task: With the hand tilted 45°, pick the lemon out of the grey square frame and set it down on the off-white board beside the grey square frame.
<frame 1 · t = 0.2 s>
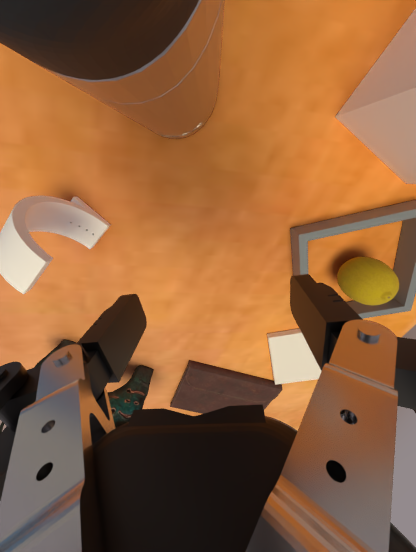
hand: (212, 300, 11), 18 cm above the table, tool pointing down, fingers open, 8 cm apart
grey square frame: (346, 266, 29), on the table
board: (306, 353, 38), on the table
lemon: (345, 265, 29), resting in grey square frame
headphone stand: (83, 220, 27), on the table
notebook: (223, 389, 45), on the table
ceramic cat: (111, 360, 40), on the table
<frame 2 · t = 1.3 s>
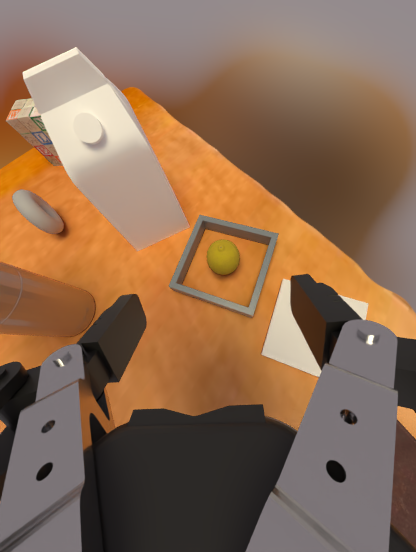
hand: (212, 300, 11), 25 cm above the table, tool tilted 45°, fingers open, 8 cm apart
stack of blocks: (92, 155, 54), on the table
grey square frame: (224, 266, 38), on the table
board: (312, 329, 33), on the table
lemon: (224, 266, 38), resting in grey square frame
notebook: (349, 481, 27), on the table
milk: (155, 218, 44), on the table
donut: (60, 226, 48), on the table
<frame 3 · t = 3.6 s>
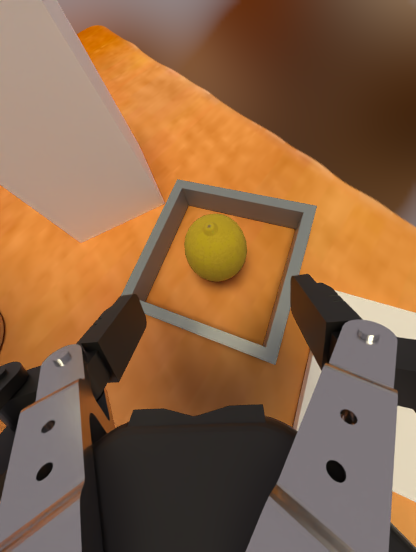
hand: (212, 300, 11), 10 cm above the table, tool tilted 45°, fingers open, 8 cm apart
grey square frame: (220, 265, 22), on the table
board: (392, 388, 17), on the table
lemon: (220, 266, 22), resting in grey square frame
milk: (113, 192, 28), on the table
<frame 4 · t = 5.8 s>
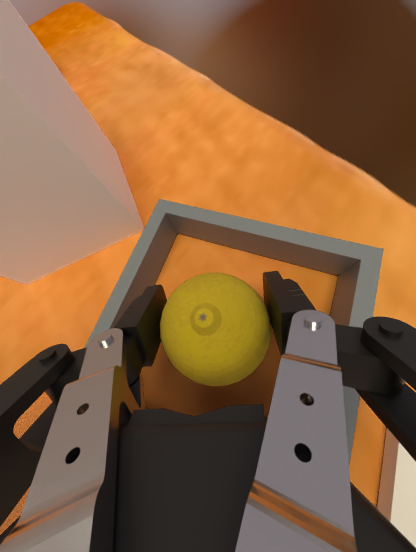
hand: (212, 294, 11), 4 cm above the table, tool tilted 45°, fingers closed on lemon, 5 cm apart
grey square frame: (222, 331, 15), on the table
lemon: (223, 331, 15), resting in grey square frame, touching gripper
milk: (77, 212, 21), on the table
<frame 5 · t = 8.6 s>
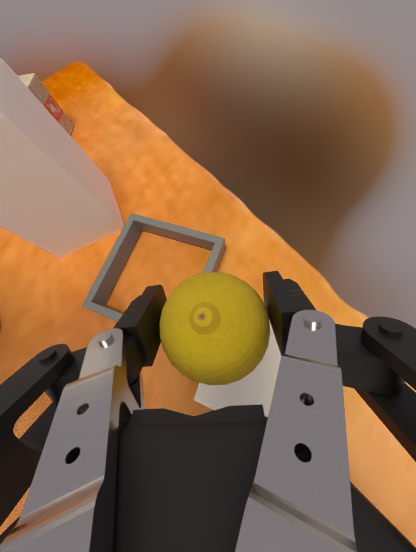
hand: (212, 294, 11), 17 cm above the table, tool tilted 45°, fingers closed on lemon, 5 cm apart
stack of blocks: (29, 141, 45), on the table
grey square frame: (161, 278, 30), on the table
board: (263, 365, 25), on the table
lemon: (222, 331, 15), point 12 cm above the table, touching gripper
milk: (86, 217, 36), on the table
when the fingers open (6 cm above the table, at t = 11.3 s): lemon drops 1 cm, resting on board.
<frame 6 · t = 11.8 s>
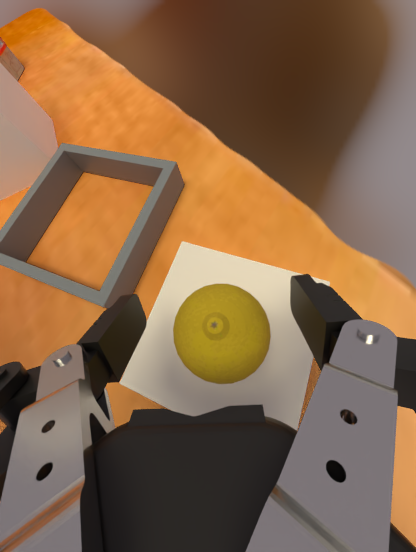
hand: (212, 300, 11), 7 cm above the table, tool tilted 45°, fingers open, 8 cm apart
grey square frame: (98, 226, 23), on the table
board: (225, 333, 17), on the table
lemon: (225, 334, 16), point 1 cm above the table, touching board
milk: (20, 162, 29), on the table
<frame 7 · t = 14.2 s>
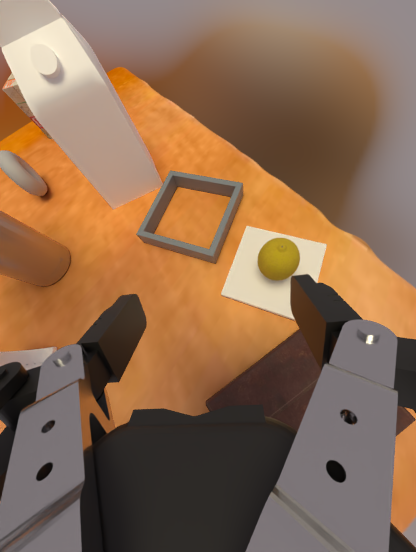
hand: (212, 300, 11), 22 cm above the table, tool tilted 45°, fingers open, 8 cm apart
stack of blocks: (86, 128, 56), on the table
grey square frame: (193, 218, 39), on the table
board: (272, 271, 33), on the table
lemon: (274, 270, 32), point 1 cm above the table, touching board
headphone stand: (41, 363, 35), on the table
notebook: (299, 407, 27), on the table
milk: (132, 180, 46), on the table
donut: (45, 191, 50), on the table
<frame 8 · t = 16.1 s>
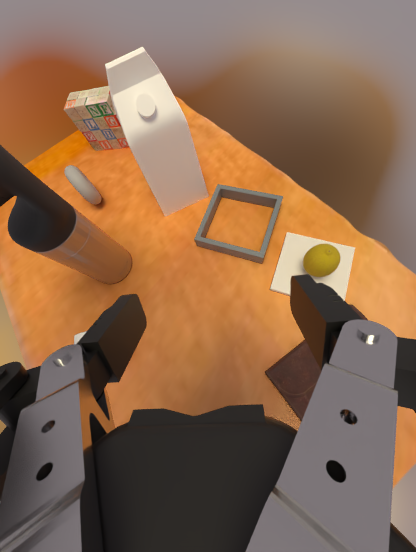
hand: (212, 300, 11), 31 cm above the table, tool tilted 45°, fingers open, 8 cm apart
stack of blocks: (129, 141, 62), on the table
grey square frame: (238, 225, 47), on the table
board: (311, 269, 41), on the table
lemon: (312, 269, 40), point 1 cm above the table, touching board
notebook: (338, 374, 35), on the table
milk: (179, 190, 53), on the table
donut: (97, 199, 56), on the table
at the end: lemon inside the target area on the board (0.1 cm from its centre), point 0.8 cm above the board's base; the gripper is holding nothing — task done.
